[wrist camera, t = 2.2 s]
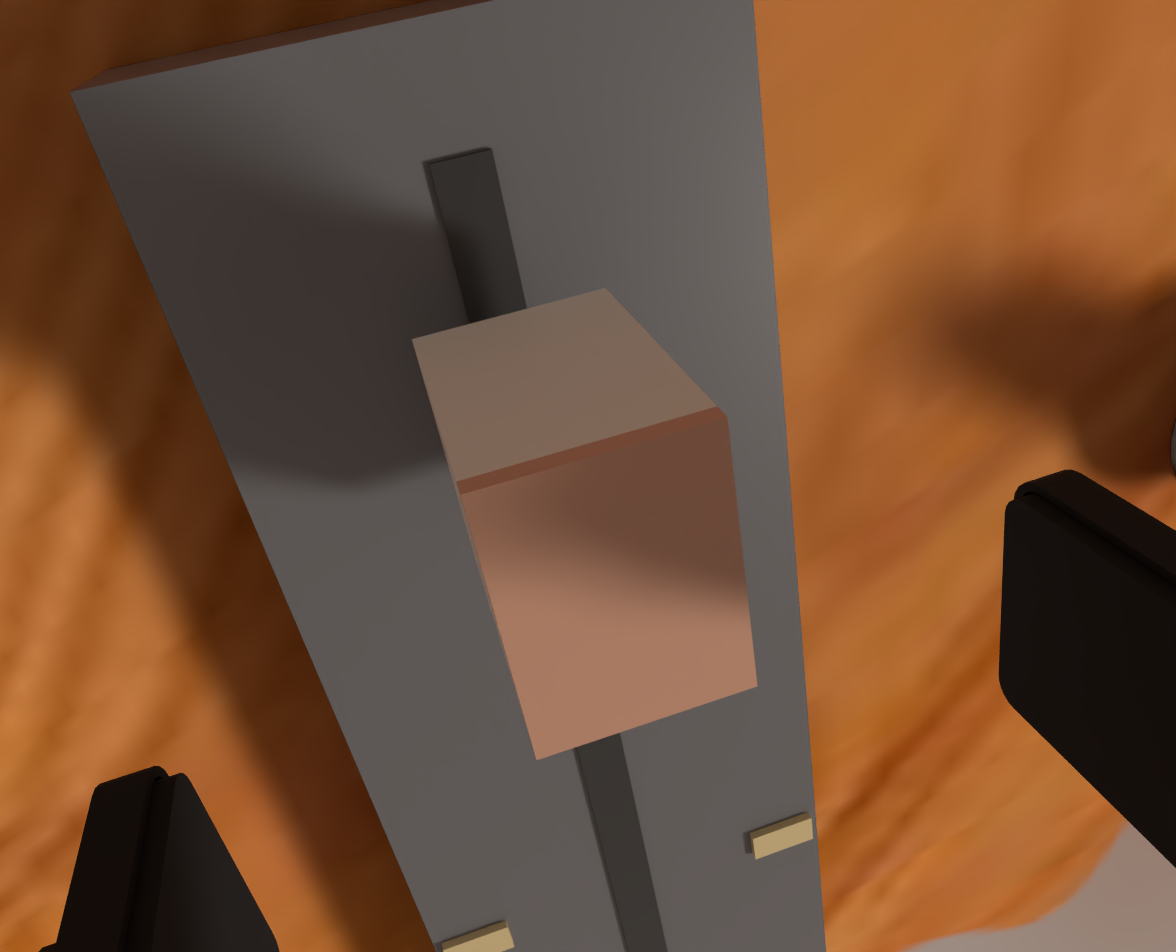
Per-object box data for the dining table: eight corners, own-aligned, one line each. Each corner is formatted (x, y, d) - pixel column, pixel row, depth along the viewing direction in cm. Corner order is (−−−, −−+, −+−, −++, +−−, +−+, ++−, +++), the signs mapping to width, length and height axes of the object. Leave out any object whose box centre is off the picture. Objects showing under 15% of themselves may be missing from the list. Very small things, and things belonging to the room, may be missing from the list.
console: (105, 70, 16) (66, 93, 13) (680, -54, 17) (754, -56, 14) (474, 984, 29) (494, 1091, 26) (781, 873, 30) (829, 963, 28)
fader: (401, 307, 15) (460, 495, 10) (580, 261, 16) (727, 417, 10) (461, 513, 17) (536, 760, 12) (617, 467, 18) (757, 685, 12)
